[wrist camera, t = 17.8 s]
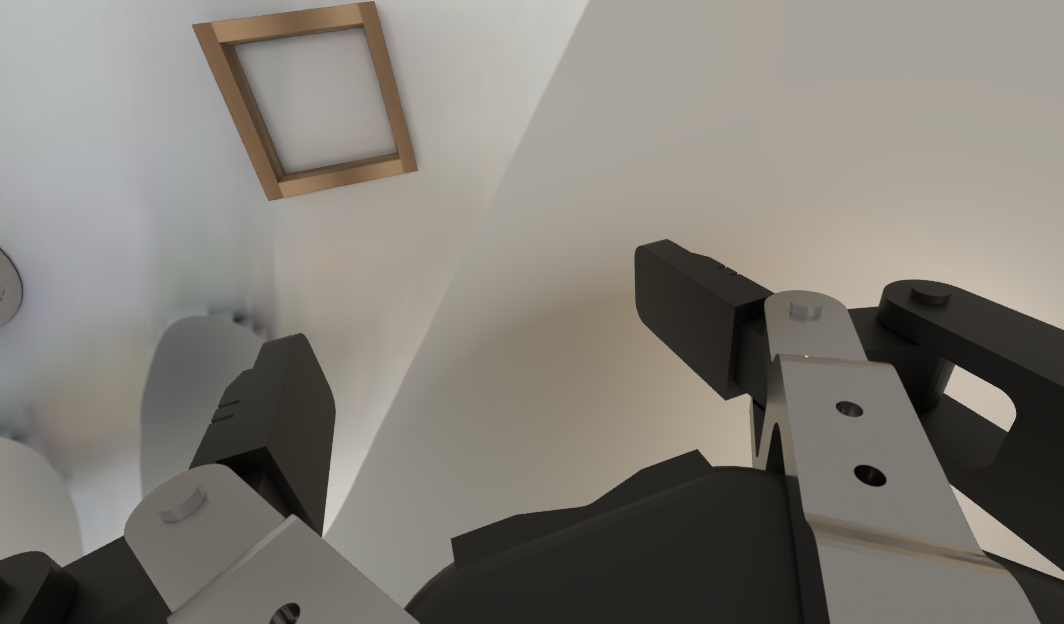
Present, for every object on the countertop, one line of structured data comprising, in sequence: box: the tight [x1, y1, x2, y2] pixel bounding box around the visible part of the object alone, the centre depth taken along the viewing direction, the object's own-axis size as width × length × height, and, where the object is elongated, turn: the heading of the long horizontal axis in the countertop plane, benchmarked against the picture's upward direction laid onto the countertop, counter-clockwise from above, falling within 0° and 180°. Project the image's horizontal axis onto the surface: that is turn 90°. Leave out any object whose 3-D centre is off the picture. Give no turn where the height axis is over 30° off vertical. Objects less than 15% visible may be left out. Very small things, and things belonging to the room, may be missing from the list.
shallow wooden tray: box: [192, 1, 418, 201], centre depth 30 cm, size 10×10×3 cm
